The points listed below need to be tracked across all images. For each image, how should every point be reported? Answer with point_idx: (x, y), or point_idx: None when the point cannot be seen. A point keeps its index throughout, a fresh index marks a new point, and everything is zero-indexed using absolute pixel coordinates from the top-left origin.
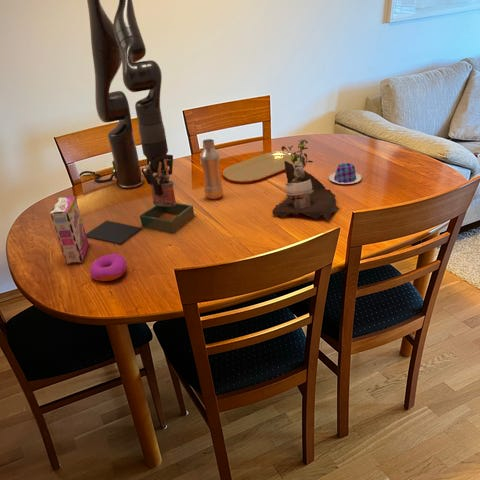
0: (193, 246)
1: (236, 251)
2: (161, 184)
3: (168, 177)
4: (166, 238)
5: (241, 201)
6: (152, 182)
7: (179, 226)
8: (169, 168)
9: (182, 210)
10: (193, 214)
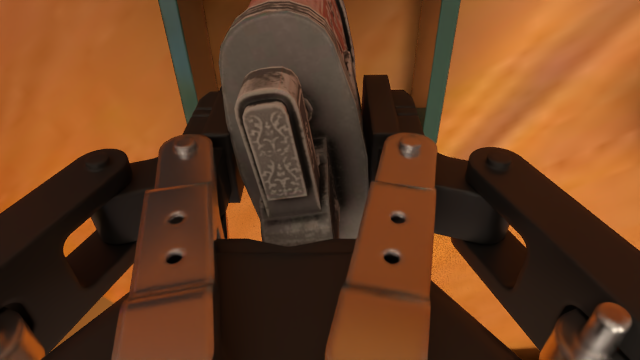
0: None
1: None
2: (251, 200)
3: None
4: (150, 117)
5: (626, 233)
6: (83, 248)
7: None
8: (487, 278)
9: (420, 69)
10: None
